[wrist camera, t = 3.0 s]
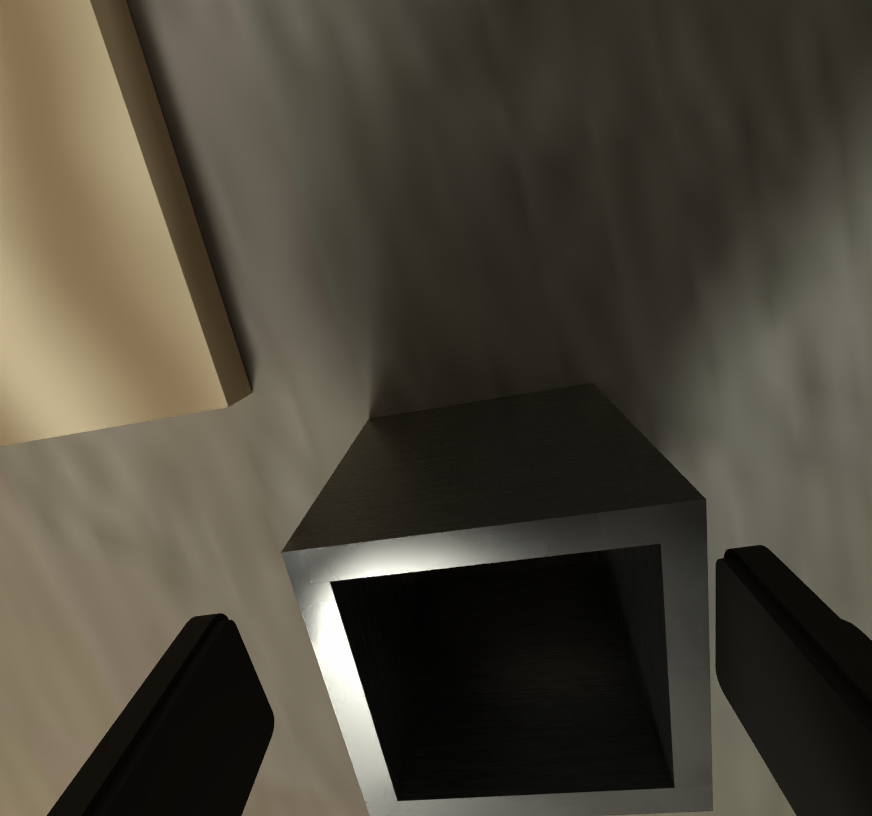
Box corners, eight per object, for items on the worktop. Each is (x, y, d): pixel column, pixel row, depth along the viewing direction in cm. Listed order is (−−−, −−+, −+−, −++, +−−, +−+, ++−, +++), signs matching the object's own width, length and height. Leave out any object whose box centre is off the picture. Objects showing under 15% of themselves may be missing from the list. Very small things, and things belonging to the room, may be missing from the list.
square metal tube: (592, 383, 14) (705, 498, 7) (611, 577, 16) (713, 810, 9) (367, 419, 15) (281, 552, 8) (412, 599, 17) (373, 824, 10)
